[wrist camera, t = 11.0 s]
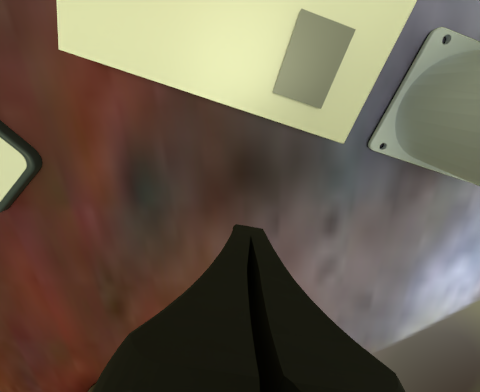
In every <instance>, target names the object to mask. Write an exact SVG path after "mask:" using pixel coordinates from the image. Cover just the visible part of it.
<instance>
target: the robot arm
mask: <svg viewBox="0 0 480 392" xmlns="http://www.w3.org/2000/svg"><path fill="white" fill-rule="evenodd" d="M444 36H445V37H446V42H445V43H444V44H443V43H442V39H443V37H444ZM382 143H384V146H383V147H382V148H380V145H381V144H382ZM368 147H369V148H370V149H371V150H373V151H376V152H379V153H382V154H385V155H388V156H391V157H394V158H397V159H400V160H403V161H406V162H409V163H412V164H415V165H418V166H421V167H424V168H427V169H430V170H433V171H436V172H439V173H442V174H445V175H448V176H451V177H454V178H457V179H460V180H463V181H466V182H470V183H473V184H476V185H478V186H480V42H479V41H477V40H474V39H472V38H469V37H467V36H464V35H462V34H459V33H457V32H454V31H452V30H449V29H447V28H445V27H440V28H437V29H434V30H433V31H431V33H430V34H429V35H428V37H427V39H426V41H425V42H424V44H423V46H422V48H421V50H420V51H419V53H418V55H417V57H416V58H415V60H414V62H413V64H412V66H411V67H410V69H409V71H408V73H407V75H406V76H405V78H404V80H403V82H402V83H401V85H400V87H399V89H398V91H397V92H396V94H395V96H394V98H393V99H392V101H391V103H390V105H389V107H388V108H387V110H386V112H385V114H384V116H383V117H382V119H381V121H380V123H379V124H378V126H377V128H376V130H375V132H374V133H373V135H372V137H371V139H370V141H369V143H368ZM92 392H405V390H404V388H403V386H402V385H401V383H400V381H399V379H398V378H397V376H396V374H395V373H394V372H393V371H392V370H390V369H389V368H388V367H387V366H385V365H384V364H383V363H382V362H380V361H379V360H378V359H376V358H375V357H374V356H373V355H371V354H370V353H369V352H368V351H366V350H365V349H364V348H362V347H361V346H360V345H359V344H358V343H356V342H355V341H354V340H353V339H352V338H351V337H350V336H348V335H347V334H346V333H345V332H344V331H343V330H342V329H340V328H339V327H338V326H337V325H336V324H335V323H334V322H333V321H332V320H331V319H330V318H329V317H328V316H327V315H326V314H325V313H324V312H323V311H322V310H321V309H320V308H319V307H318V306H317V305H316V304H315V303H314V302H313V301H312V300H311V299H310V298H309V297H308V296H307V294H306V293H305V292H304V291H303V290H302V289H301V287H300V286H299V285H298V284H297V283H296V281H295V280H294V279H293V277H292V276H291V275H290V273H289V272H288V270H287V269H286V268H285V266H284V265H283V263H282V262H281V260H280V258H279V257H278V255H277V254H276V252H275V250H274V249H273V247H272V245H271V243H270V242H269V240H268V238H267V236H266V234H265V232H264V231H263V229H260V228H254V227H249V226H243V225H237V224H236V225H235V226H234V227H233V231H232V234H231V236H230V238H229V240H228V241H227V243H226V245H225V246H224V248H223V249H222V251H221V252H220V254H219V255H218V256H217V258H216V259H215V260H214V262H213V263H212V264H211V265H210V267H209V268H208V269H207V270H206V271H205V272H204V273H203V275H202V276H201V277H200V278H199V279H198V280H197V281H196V282H195V283H194V284H193V285H192V286H191V287H190V288H189V289H187V290H186V291H185V292H184V293H183V294H182V295H181V296H179V297H178V298H177V299H176V300H175V301H173V302H172V303H171V304H170V305H168V306H167V307H166V308H165V309H164V310H162V311H161V312H160V313H158V314H157V315H155V316H154V317H153V318H151V319H150V320H148V321H147V322H145V323H144V324H143V325H141V326H140V327H138V328H137V329H135V330H134V331H132V332H131V333H130V334H129V335H128V336H127V337H126V338H125V340H124V341H123V342H122V344H121V345H120V346H119V348H118V349H117V350H116V352H115V353H114V355H113V356H112V358H111V359H110V361H109V362H108V364H107V366H106V367H105V369H104V370H103V372H102V373H101V375H100V377H99V379H98V381H97V383H96V385H95V387H94V389H93V390H92Z"/></svg>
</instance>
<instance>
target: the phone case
mask: <svg viewBox="0 0 480 392" xmlns="http://www.w3.org/2000/svg"><path fill="white" fill-rule="evenodd" d="M41 167H42V159H41V157H40V155H39V153H38V152H37V151H36V150H35V149H34V148H33V147H32V146H31V145H29V144H28V143H27V142H26V141H25V140H23V139H22V138H21V137H20V136H18V135H17V134H16V133H15V132H14V131H12V130H11V129H10V128H9V127H8V126H6V125H5V124H4V123H3V122H2V121H0V212H2V211H4V210H6V209H8V208H9V207H10V206H11V205H12V203H13V202H14V201H15V200H16V198H17V197H18V196H19V195H20V194H21V192H22V191H23V190H24V189H25V187H26V186H27V185H28V184H29V182H30V181H31V180H32V179H33V178H34V176H35V175H36V174H37V173H38V171H39V170H40V169H41Z"/></svg>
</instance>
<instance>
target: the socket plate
mask: <svg viewBox="0 0 480 392" xmlns="http://www.w3.org/2000/svg"><path fill="white" fill-rule="evenodd" d="M416 1H417V0H57V21H58V44H59V50H62V51H65V52H68V53H71V54H74V55H77V56H80V57H83V58H86V59H89V60H92V61H95V62H98V63H101V64H104V65H107V66H111V67H114V68H117V69H120V70H123V71H126V72H129V73H132V74H135V75H138V76H141V77H144V78H147V79H150V80H153V81H156V82H159V83H162V84H165V85H168V86H171V87H174V88H177V89H180V90H183V91H186V92H189V93H192V94H195V95H198V96H201V97H204V98H207V99H210V100H213V101H216V102H219V103H222V104H225V105H228V106H231V107H234V108H237V109H240V110H243V111H246V112H249V113H252V114H255V115H258V116H261V117H264V118H267V119H270V120H273V121H276V122H279V123H282V124H285V125H288V126H291V127H294V128H297V129H300V130H303V131H306V132H309V133H312V134H315V135H318V136H321V137H324V138H327V139H330V140H333V141H336V142H339V143H342V144H344V142H345V140H346V138H347V136H348V134H349V132H350V130H351V128H352V126H353V124H354V122H355V120H356V119H357V117H358V115H359V113H360V111H361V109H362V107H363V105H364V103H365V101H366V99H367V97H368V95H369V93H370V91H371V89H372V87H373V85H374V83H375V81H376V79H377V78H378V76H379V74H380V72H381V70H382V68H383V66H384V64H385V62H386V60H387V58H388V56H389V54H390V52H391V50H392V48H393V46H394V44H395V42H396V40H397V39H398V37H399V35H400V33H401V31H402V29H403V27H404V25H405V23H406V21H407V19H408V17H409V15H410V13H411V11H412V9H413V7H414V5H415V3H416Z"/></svg>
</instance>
